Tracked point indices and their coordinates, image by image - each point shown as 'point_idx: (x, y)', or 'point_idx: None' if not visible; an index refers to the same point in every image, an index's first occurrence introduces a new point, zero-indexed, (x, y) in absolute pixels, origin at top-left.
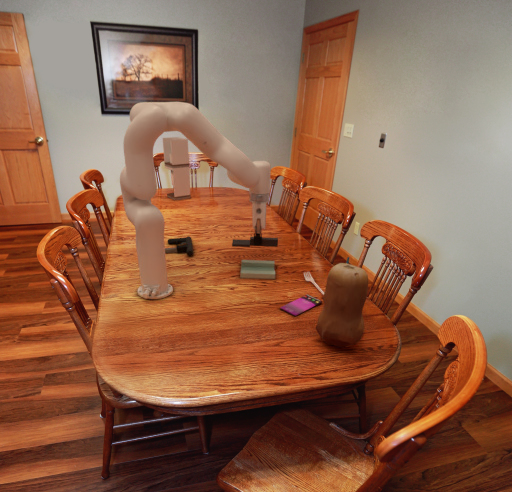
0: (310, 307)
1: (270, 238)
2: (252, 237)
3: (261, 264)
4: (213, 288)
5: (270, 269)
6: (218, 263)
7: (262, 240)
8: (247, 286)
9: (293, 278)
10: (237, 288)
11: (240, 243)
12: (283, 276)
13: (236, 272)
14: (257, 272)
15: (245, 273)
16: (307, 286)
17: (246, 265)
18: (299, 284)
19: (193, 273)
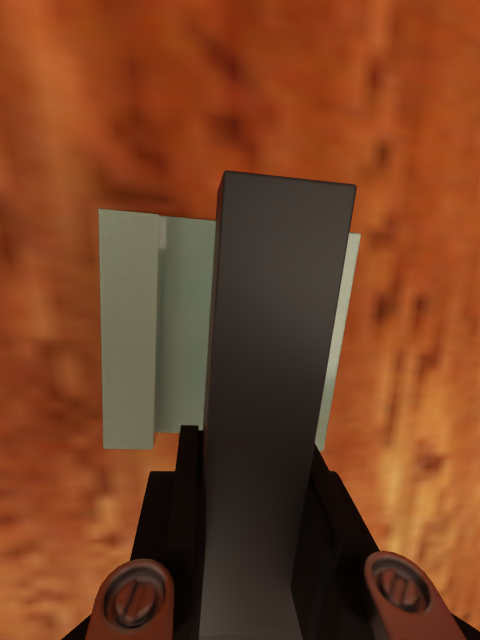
0: None
1: (268, 338)
2: (219, 609)
3: (157, 315)
4: (414, 535)
5: (200, 249)
6: (111, 544)
7: (305, 460)
8: (416, 396)
9: (339, 92)
10: (431, 441)
11: None
12: (301, 166)
13: None
14: None
15: (327, 422)
16: (476, 6)
17: (156, 407)
18: (437, 65)
19: None
